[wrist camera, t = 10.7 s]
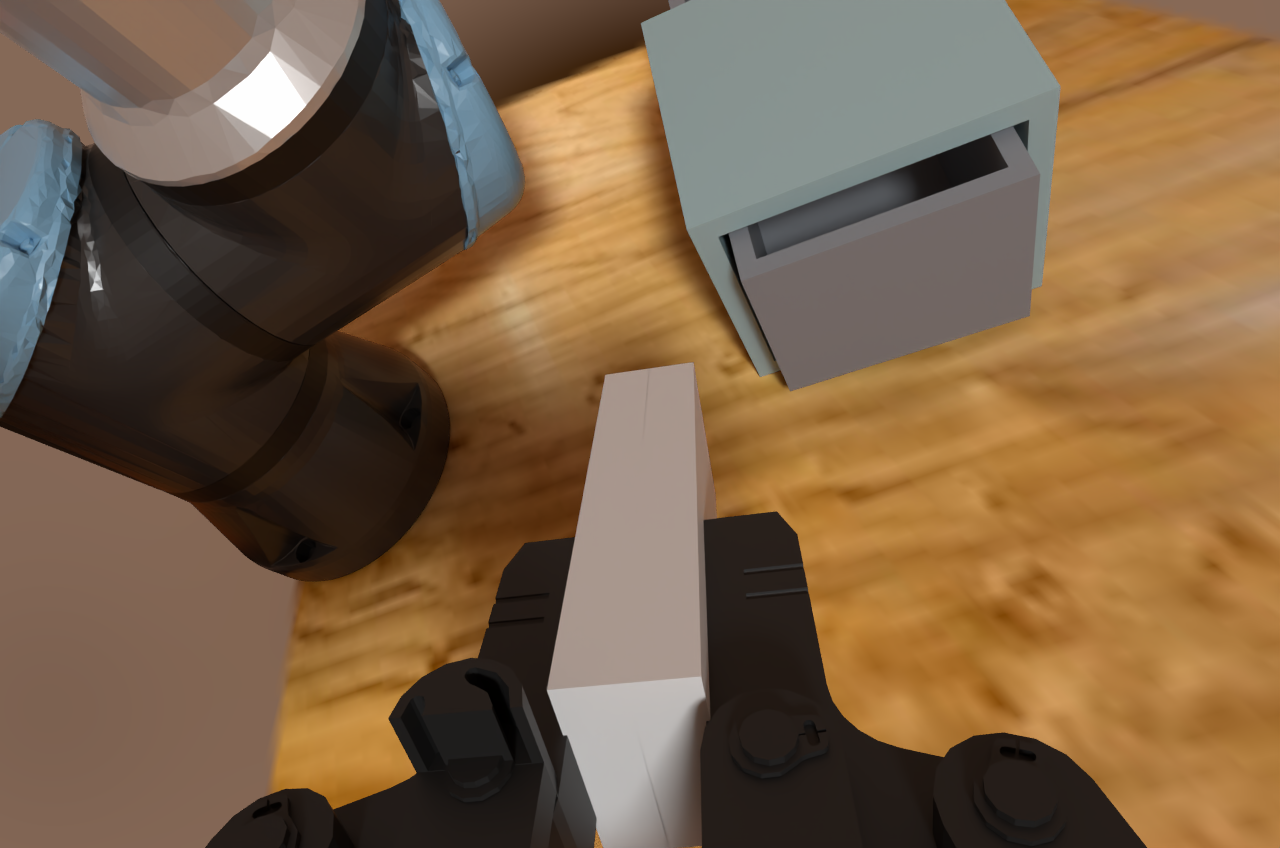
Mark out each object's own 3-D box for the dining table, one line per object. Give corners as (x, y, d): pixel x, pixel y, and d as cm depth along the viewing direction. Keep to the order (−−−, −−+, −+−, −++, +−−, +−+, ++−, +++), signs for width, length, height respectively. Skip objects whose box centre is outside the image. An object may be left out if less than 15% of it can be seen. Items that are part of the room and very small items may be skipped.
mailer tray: (1029, 316, 35) (1040, 173, 28) (790, 391, 38) (741, 281, 31) (878, 10, 48) (857, -146, 40) (705, 84, 50) (655, -48, 43)
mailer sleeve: (1041, 286, 37) (1060, 86, 27) (760, 377, 41) (686, 230, 31) (945, 99, 44) (932, -113, 34) (712, 190, 48) (641, 23, 38)
